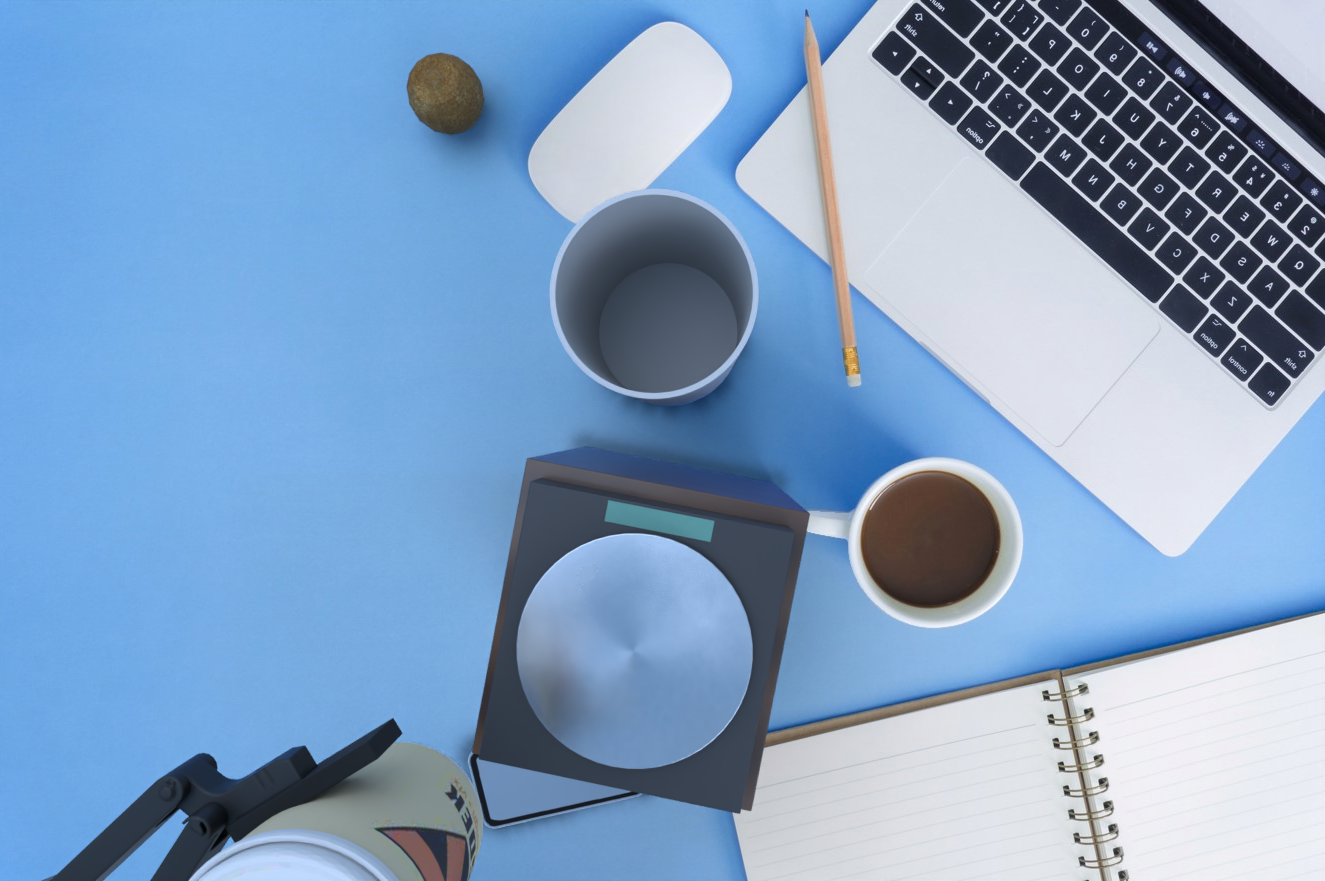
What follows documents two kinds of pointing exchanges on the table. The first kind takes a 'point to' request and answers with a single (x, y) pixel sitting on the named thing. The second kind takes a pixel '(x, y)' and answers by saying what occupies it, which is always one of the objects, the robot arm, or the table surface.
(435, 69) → the fruit
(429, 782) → the coffee cup
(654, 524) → the scale
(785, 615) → the dark grey tall block
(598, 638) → the scale pan
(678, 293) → the cylinder vase
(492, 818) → the smartphone
